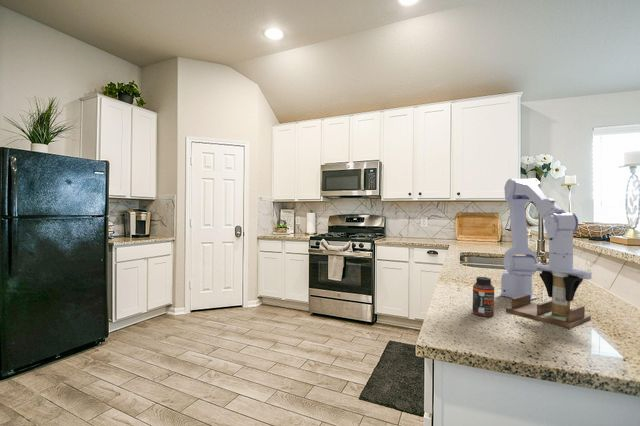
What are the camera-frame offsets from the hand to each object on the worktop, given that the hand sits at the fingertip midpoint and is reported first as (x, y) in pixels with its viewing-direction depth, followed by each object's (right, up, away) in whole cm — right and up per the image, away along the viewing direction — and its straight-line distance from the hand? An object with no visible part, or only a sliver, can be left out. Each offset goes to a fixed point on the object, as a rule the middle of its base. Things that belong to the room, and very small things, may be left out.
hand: (560, 298), depth 92 cm
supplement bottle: (-21, -6, +4) cm, 22 cm away
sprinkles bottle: (0, -5, 0) cm, 5 cm away
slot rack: (-2, -6, +3) cm, 7 cm away
